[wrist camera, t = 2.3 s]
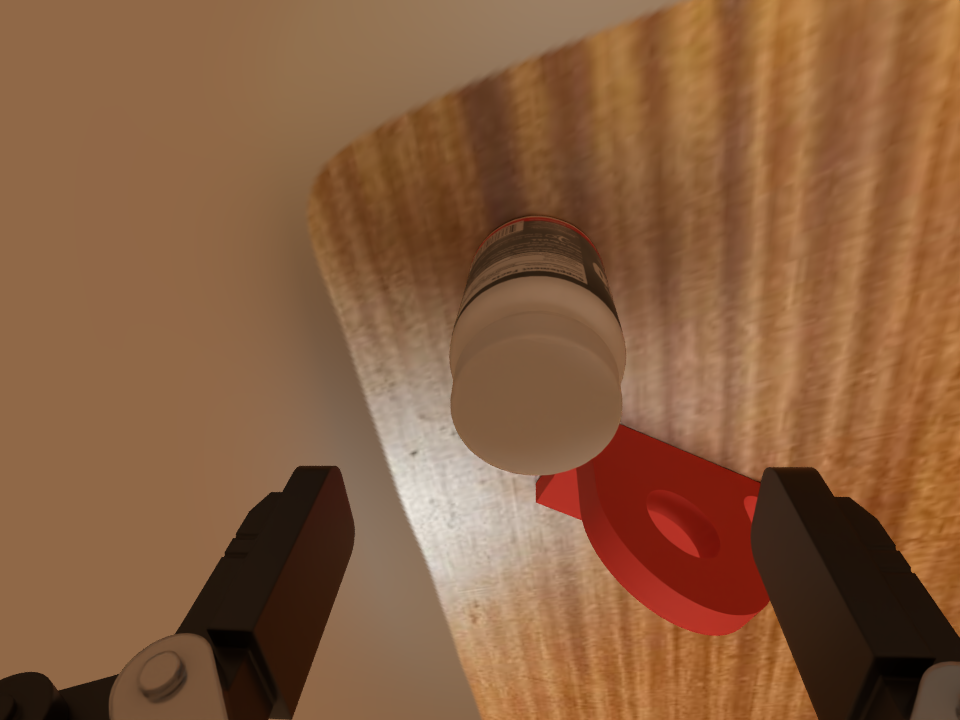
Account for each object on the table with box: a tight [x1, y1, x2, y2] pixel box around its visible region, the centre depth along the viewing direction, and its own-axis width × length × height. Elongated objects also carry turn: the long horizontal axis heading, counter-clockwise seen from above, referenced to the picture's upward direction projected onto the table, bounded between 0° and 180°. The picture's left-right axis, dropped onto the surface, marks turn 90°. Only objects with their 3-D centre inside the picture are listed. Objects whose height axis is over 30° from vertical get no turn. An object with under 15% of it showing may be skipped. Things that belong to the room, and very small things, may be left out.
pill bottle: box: [449, 216, 626, 475], centre depth 17 cm, size 5×5×8 cm
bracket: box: [536, 424, 770, 636], centre depth 22 cm, size 12×4×8 cm, turn 66°
